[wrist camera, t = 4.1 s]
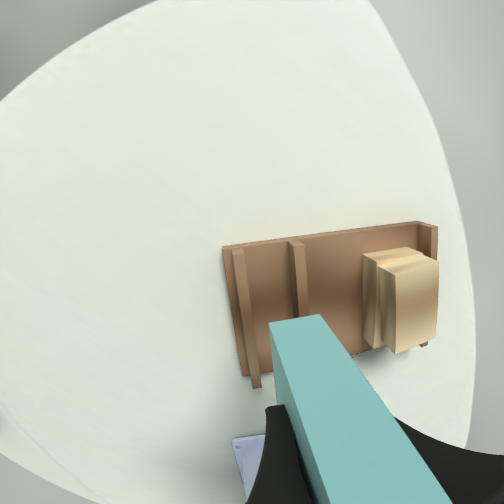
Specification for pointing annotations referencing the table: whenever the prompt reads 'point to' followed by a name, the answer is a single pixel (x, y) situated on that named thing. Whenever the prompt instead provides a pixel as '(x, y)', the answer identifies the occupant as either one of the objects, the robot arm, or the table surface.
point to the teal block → (343, 423)
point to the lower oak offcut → (376, 291)
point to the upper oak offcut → (408, 301)
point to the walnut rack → (308, 284)
